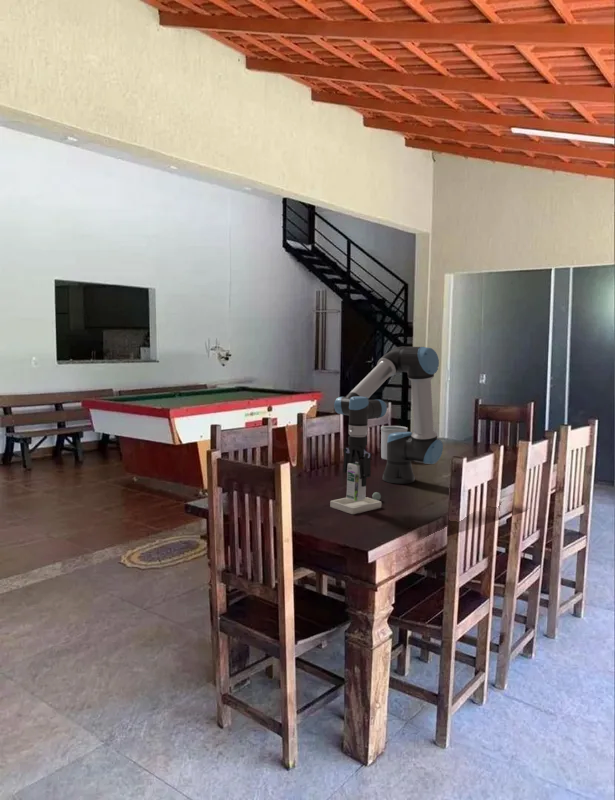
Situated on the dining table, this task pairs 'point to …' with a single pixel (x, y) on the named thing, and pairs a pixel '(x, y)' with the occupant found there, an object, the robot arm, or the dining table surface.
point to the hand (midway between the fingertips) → (356, 492)
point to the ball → (376, 496)
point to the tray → (355, 505)
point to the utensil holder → (384, 437)
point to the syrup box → (354, 482)
